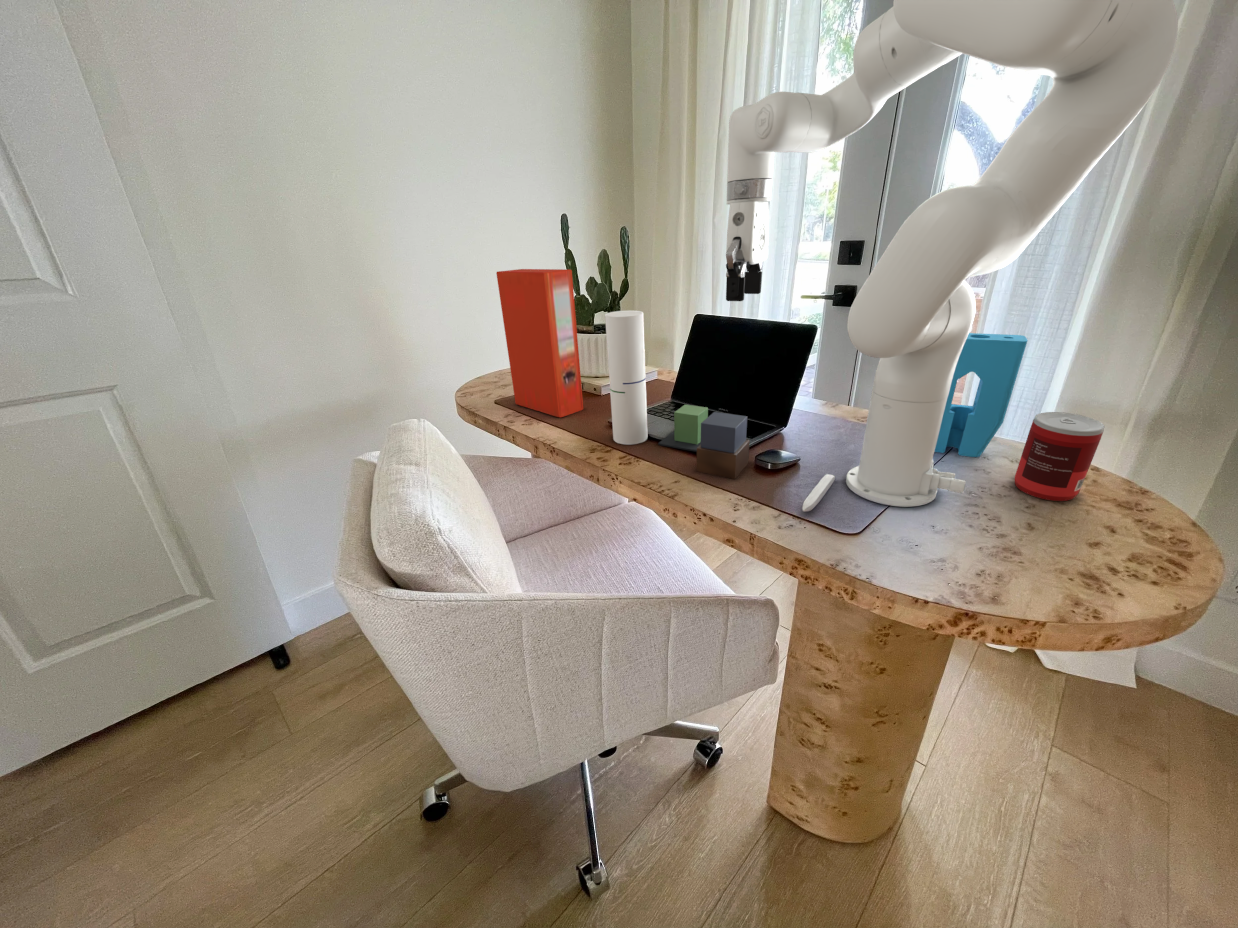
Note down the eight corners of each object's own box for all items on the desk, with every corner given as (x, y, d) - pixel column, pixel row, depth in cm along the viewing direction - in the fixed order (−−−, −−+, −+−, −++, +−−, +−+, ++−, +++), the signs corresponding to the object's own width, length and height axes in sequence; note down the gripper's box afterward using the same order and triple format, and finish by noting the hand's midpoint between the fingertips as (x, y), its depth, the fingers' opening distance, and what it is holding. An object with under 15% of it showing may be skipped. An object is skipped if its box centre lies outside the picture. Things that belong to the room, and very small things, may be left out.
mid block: (746, 440, 86) (747, 416, 84) (734, 453, 81) (735, 428, 79) (713, 435, 89) (714, 411, 87) (700, 447, 84) (700, 423, 82)
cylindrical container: (648, 443, 98) (643, 315, 87) (612, 445, 99) (604, 317, 88) (647, 430, 105) (642, 309, 94) (613, 432, 105) (605, 311, 94)
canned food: (1061, 478, 76) (1086, 412, 72) (1089, 504, 69) (1119, 432, 65) (1003, 475, 78) (1024, 410, 74) (1026, 500, 72) (1050, 430, 67)
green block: (707, 435, 99) (708, 407, 97) (697, 444, 95) (697, 415, 93) (684, 431, 102) (684, 404, 99) (674, 440, 98) (674, 412, 95)
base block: (748, 462, 88) (749, 439, 86) (734, 479, 83) (736, 455, 81) (711, 456, 91) (712, 433, 89) (696, 471, 86) (696, 448, 84)
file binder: (540, 396, 131) (523, 268, 117) (584, 408, 120) (571, 269, 106) (515, 405, 126) (495, 272, 112) (559, 418, 115) (542, 272, 101)
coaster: (724, 435, 100) (724, 433, 100) (705, 453, 92) (705, 451, 92) (679, 427, 105) (679, 426, 105) (658, 445, 97) (658, 443, 97)
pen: (796, 516, 71) (797, 507, 70) (826, 478, 81) (827, 469, 80) (807, 519, 70) (808, 510, 69) (836, 480, 80) (837, 471, 79)
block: (990, 448, 87) (1024, 335, 79) (992, 459, 83) (1028, 341, 75) (913, 438, 93) (937, 331, 84) (912, 448, 89) (936, 337, 81)
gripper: (754, 190, 76) (748, 304, 83) (784, 192, 89) (776, 291, 97) (709, 194, 80) (707, 303, 87) (744, 196, 93) (740, 291, 100)
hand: (743, 297), depth 92 cm, fingers open, 9 cm apart
